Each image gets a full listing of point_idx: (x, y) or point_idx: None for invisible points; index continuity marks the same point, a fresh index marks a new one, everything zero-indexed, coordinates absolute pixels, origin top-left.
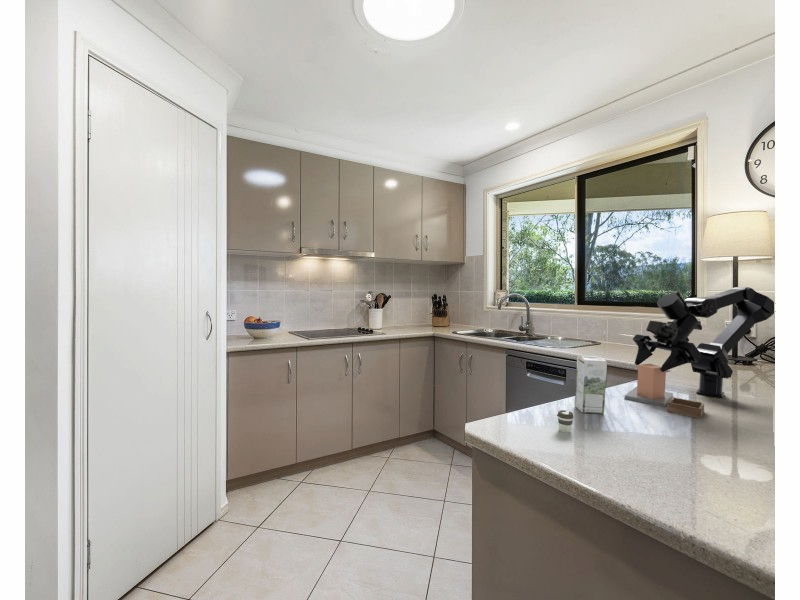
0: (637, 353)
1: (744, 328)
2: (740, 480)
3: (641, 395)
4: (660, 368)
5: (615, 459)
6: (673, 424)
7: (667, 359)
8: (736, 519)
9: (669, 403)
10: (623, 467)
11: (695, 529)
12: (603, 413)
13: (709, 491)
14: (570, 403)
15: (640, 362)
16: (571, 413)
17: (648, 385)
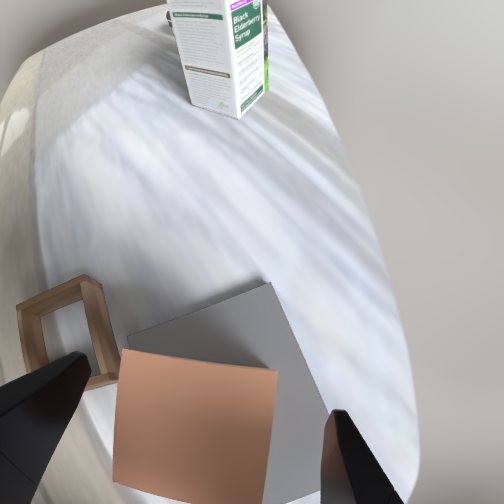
0: (394, 492)
1: None
2: (5, 116)
3: (239, 360)
4: (78, 354)
5: (101, 45)
6: (63, 195)
7: (10, 400)
8: (22, 74)
9: (81, 276)
10: (90, 45)
11: (43, 51)
12: (192, 103)
13: (30, 80)
14: (293, 97)
15: (323, 463)
16: (169, 13)
17: (196, 360)
